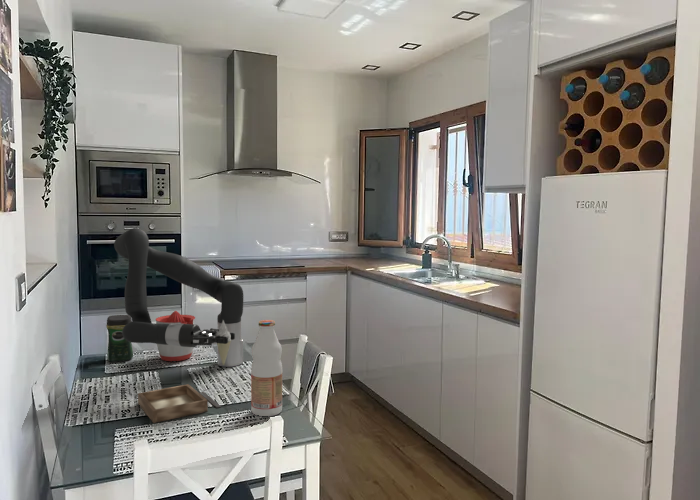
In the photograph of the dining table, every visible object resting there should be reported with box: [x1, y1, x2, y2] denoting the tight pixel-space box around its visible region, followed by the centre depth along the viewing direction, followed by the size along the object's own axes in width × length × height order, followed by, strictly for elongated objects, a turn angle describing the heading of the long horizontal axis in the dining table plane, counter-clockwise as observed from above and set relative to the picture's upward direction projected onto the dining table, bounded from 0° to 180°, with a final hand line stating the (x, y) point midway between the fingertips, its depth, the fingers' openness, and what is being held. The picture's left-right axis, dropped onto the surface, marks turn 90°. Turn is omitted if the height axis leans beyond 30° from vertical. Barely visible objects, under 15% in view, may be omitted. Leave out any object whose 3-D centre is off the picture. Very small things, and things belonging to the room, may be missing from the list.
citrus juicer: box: [155, 310, 196, 362], centre depth 215 cm, size 16×17×20 cm
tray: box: [137, 383, 222, 424], centre depth 163 cm, size 21×18×4 cm
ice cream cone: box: [216, 320, 231, 365], centre depth 171 cm, size 5×5×15 cm
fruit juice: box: [250, 319, 283, 417], centre depth 158 cm, size 9×9×28 cm
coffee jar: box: [106, 314, 134, 363], centre depth 213 cm, size 10×8×19 cm
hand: (230, 338), depth 170 cm, fingers closed on ice cream cone, 5 cm apart
